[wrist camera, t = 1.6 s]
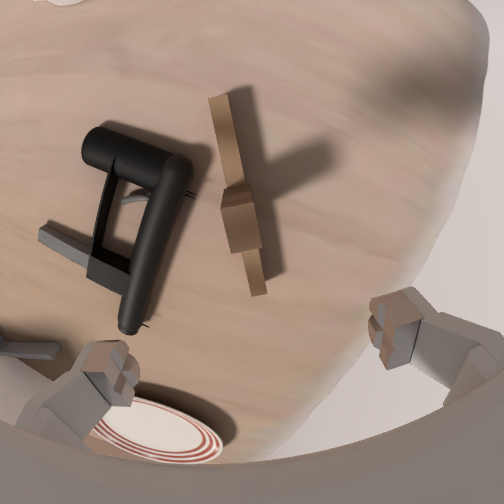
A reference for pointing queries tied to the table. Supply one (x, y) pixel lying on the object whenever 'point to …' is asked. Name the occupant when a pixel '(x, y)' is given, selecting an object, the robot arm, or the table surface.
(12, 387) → the white fork-shaped stand
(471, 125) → the table surface
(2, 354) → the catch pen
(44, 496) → the robot arm
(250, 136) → the table surface
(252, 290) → the walnut scraper
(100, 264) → the black angular piece
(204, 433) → the dinner plate
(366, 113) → the table surface
